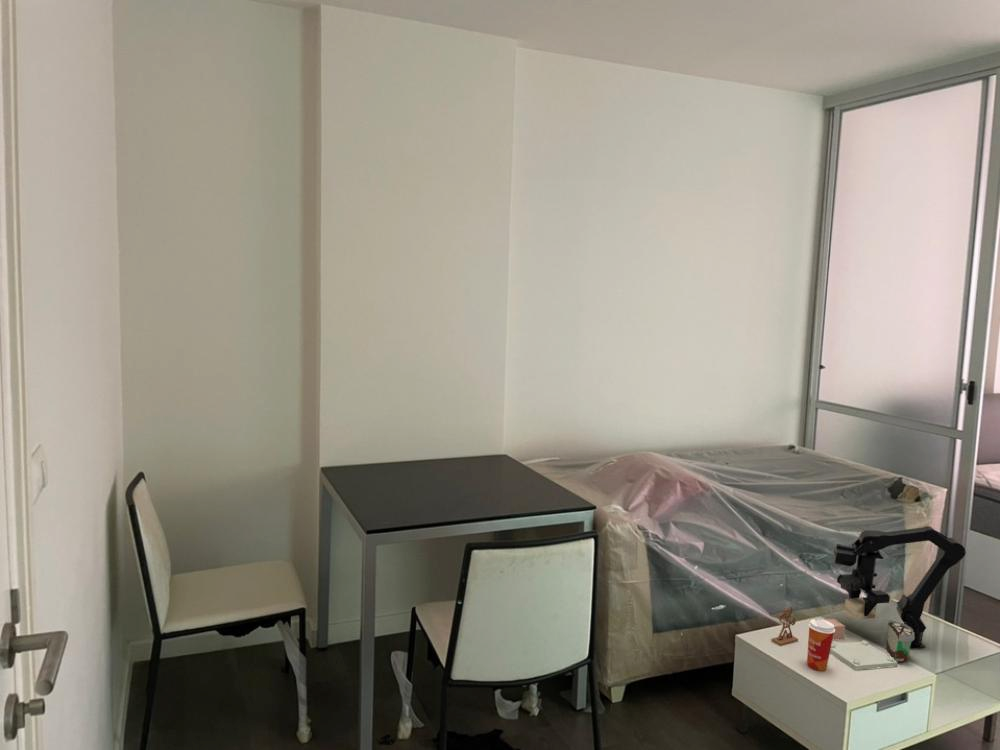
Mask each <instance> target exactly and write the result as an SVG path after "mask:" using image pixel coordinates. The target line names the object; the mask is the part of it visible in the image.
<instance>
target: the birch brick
mask: <svg viewBox="0 0 1000 750" xmlns="http://www.w3.org/2000/svg"><path fill="white" fill-rule="evenodd" d="M864 608H865V601H864V599H863V597H859V598H845V603H844V609H843V613H844V614H846V615H847V616H849V617H851V618H852V619H854V620H867V619H875V618H876V613H877V612H876V611H877V605H876V606H875V607H874V608H873V609H872V611H871V612H870V613H869V615H868V616H864Z"/></svg>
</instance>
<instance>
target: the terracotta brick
mask: <svg viewBox="0 0 1000 750" xmlns="http://www.w3.org/2000/svg"><path fill="white" fill-rule="evenodd" d="M822 620H825V621H828V622H830V623H832V624H833V625H834V629H835V632H834V634H833V639H834V640H833V639H832V641H836V640H835V639H843V640H844V638H845V629H846V625H845V624H842V623H841V622H840V621H838V620H837V619H835V618H827V619H822Z"/></svg>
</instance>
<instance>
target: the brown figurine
mask: <svg viewBox="0 0 1000 750" xmlns="http://www.w3.org/2000/svg"><path fill="white" fill-rule="evenodd" d="M793 611H794V610H793V607H791V606H790V605H789V606H788V605H787V606H786V607H785V608H784V610H783V612H781V613H779V614H778V620H779V622H780V623H782V629H781V630H780V632H779V635H778V636H777V637H773V638H771V639H770V642H772V643H773V644H775V645H777V646H779V647H783V646H786V645H790V644H794V643H798V642H799V638H798V637H796V636H794V635H793V632H792V628H791V626H794V625H796V622H797V621H796V617H795V616H794V615H792V614H793ZM791 618H792V620H790V619H791ZM782 619H784V620H785V621H782ZM787 629H788V630H787ZM788 631H789V632H788Z"/></svg>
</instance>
